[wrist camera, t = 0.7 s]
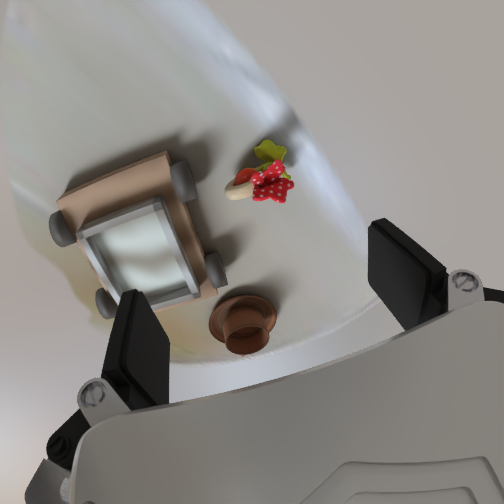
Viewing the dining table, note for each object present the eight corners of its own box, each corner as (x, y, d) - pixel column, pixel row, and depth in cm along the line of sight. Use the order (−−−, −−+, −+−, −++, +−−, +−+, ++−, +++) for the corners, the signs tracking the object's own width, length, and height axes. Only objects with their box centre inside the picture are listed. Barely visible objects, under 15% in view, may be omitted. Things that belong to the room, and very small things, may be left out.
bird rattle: (248, 191, 41) (305, 168, 37) (232, 240, 34) (303, 216, 30) (226, 157, 38) (284, 129, 34) (201, 200, 30) (276, 167, 26)
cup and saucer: (278, 327, 55) (287, 351, 50) (218, 344, 54) (223, 369, 49) (267, 281, 48) (277, 305, 43) (198, 301, 48) (200, 327, 43)
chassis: (53, 198, 33) (37, 214, 29) (182, 144, 34) (180, 153, 29) (118, 310, 45) (113, 334, 41) (227, 278, 46) (232, 301, 42)
